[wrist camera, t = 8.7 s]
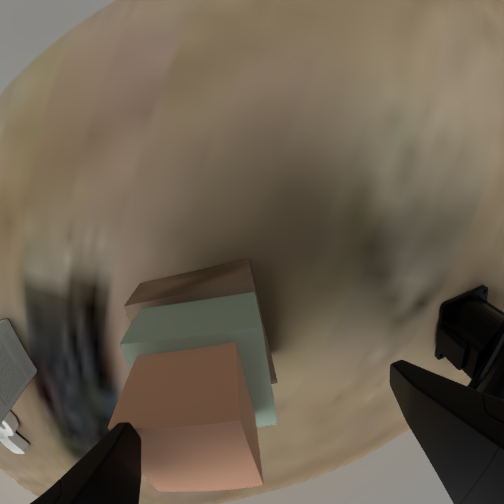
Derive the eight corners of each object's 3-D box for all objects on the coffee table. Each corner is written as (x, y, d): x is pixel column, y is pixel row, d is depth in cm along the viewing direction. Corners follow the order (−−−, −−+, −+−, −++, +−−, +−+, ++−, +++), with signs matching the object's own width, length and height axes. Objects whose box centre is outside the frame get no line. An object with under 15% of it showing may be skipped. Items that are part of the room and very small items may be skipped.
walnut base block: (248, 257, 21) (252, 278, 17) (270, 351, 23) (277, 382, 19) (140, 282, 21) (124, 306, 17) (175, 369, 23) (168, 401, 19)
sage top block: (254, 291, 17) (261, 326, 13) (269, 382, 19) (277, 424, 15) (139, 308, 17) (119, 344, 13) (171, 394, 19) (162, 435, 15)
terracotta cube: (235, 341, 14) (240, 419, 9) (255, 412, 15) (263, 485, 10) (137, 355, 13) (107, 427, 9) (169, 422, 15) (157, 491, 10)
